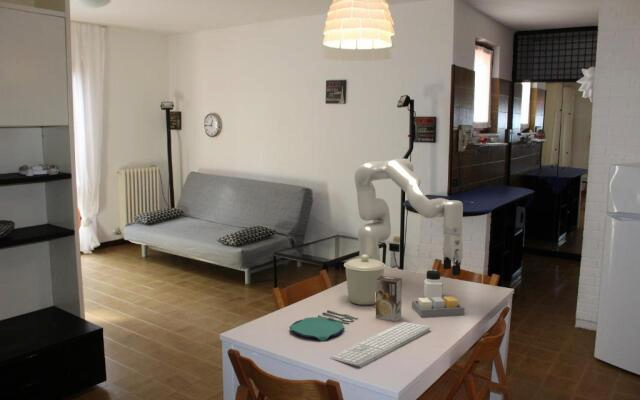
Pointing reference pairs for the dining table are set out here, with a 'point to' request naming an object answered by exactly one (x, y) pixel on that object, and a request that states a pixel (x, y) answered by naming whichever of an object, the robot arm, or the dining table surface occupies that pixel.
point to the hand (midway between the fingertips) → (451, 271)
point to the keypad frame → (437, 311)
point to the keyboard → (380, 344)
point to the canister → (363, 279)
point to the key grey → (438, 302)
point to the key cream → (425, 303)
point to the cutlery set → (320, 326)
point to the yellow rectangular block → (450, 302)
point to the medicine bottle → (433, 284)
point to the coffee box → (388, 298)
